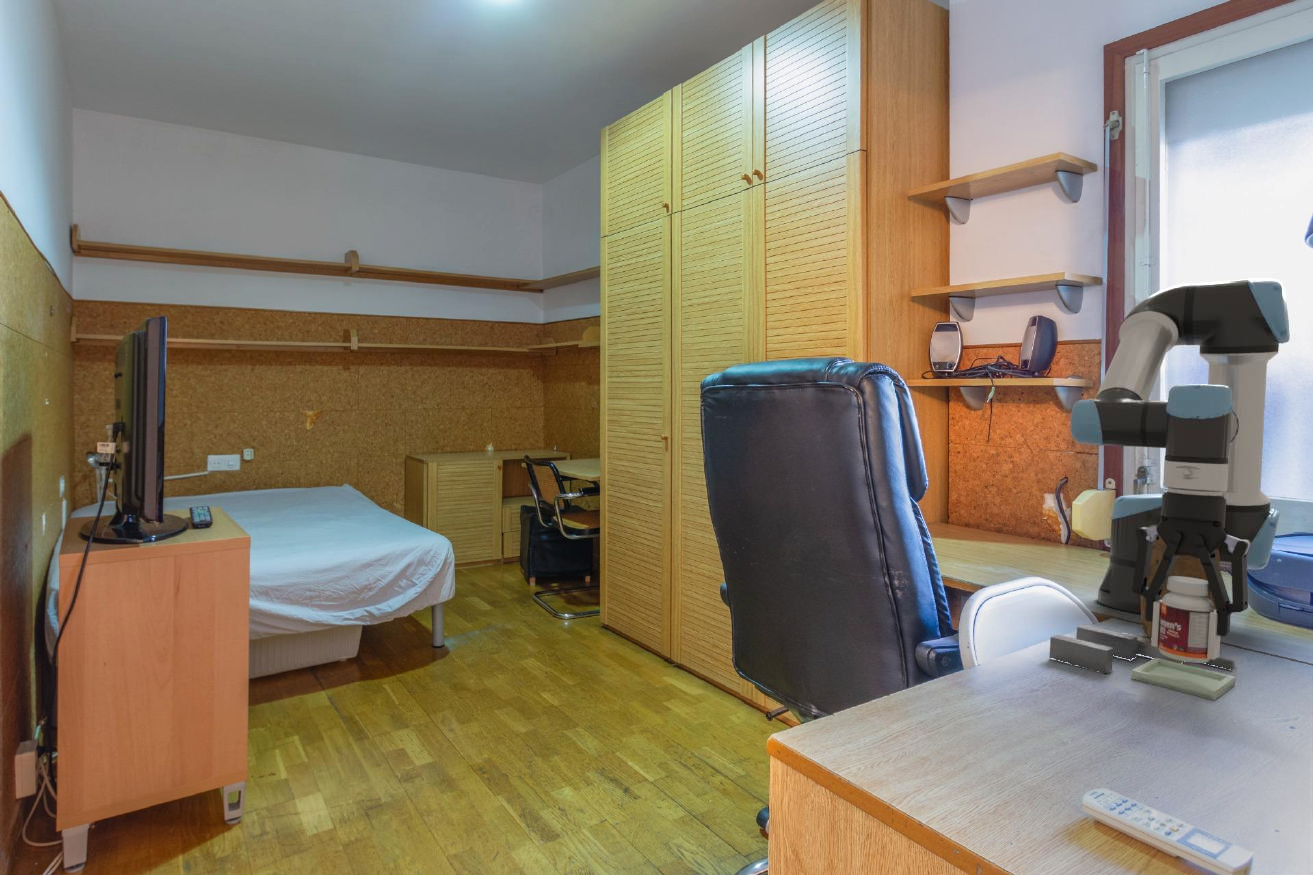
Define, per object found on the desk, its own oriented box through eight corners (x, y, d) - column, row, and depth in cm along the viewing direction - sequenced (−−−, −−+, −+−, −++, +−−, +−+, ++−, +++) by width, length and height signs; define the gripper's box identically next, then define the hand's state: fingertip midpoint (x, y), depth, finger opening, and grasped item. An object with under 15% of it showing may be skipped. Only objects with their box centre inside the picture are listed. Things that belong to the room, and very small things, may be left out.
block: (1134, 638, 130) (1141, 523, 130) (1149, 630, 135) (1155, 521, 134) (1209, 654, 122) (1217, 533, 121) (1222, 646, 127) (1229, 529, 126)
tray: (1155, 665, 116) (1155, 657, 115) (1234, 684, 108) (1235, 676, 108) (1131, 678, 109) (1131, 670, 109) (1214, 700, 101) (1214, 691, 101)
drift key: (1121, 646, 125) (1122, 630, 125) (1185, 661, 118) (1186, 644, 118) (1114, 650, 122) (1115, 633, 122) (1178, 666, 116) (1179, 648, 115)
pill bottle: (1148, 650, 111) (1152, 574, 111) (1186, 650, 112) (1191, 575, 111) (1181, 664, 105) (1186, 584, 105) (1221, 664, 106) (1226, 584, 105)
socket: (1082, 645, 125) (1083, 624, 125) (1136, 658, 119) (1137, 636, 119) (1049, 659, 117) (1050, 637, 117) (1105, 674, 111) (1106, 650, 111)
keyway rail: (1125, 643, 126) (1125, 635, 126) (1234, 669, 115) (1234, 659, 115) (1122, 645, 126) (1123, 636, 126) (1232, 670, 114) (1232, 661, 114)
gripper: (1110, 486, 113) (1102, 638, 113) (1272, 500, 98) (1261, 675, 99) (1128, 484, 117) (1120, 630, 118) (1285, 498, 103) (1275, 664, 103)
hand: (1184, 650), depth 108 cm, fingers closed on pill bottle, 6 cm apart
